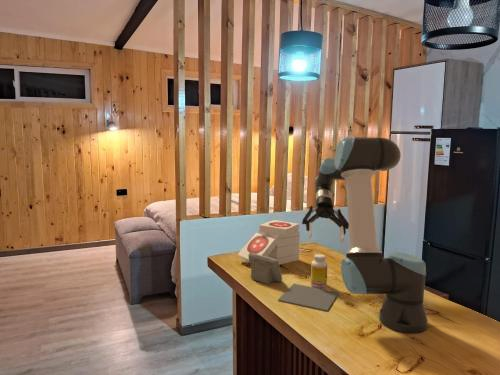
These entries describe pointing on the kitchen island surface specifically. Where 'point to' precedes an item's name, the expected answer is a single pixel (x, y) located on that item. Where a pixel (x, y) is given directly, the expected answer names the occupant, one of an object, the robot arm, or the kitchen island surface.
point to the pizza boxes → (274, 242)
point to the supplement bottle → (319, 271)
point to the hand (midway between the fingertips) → (326, 238)
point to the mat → (309, 297)
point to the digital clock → (264, 268)
